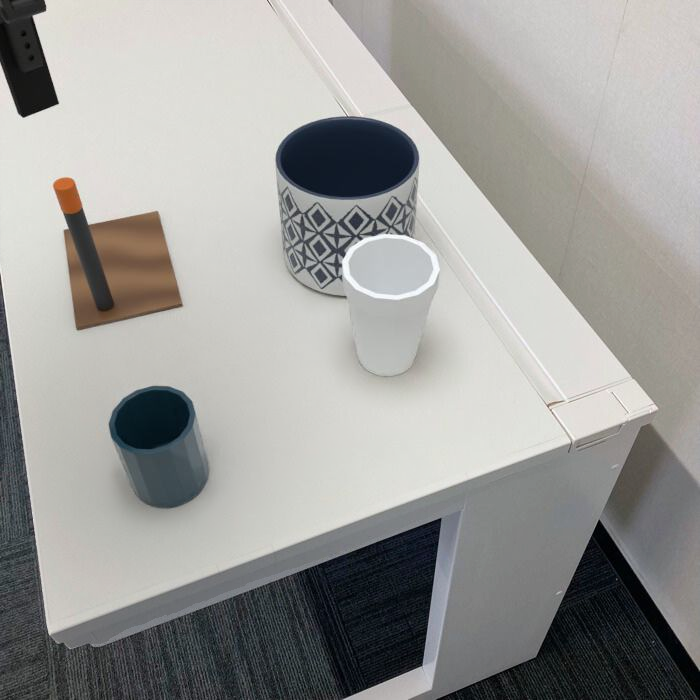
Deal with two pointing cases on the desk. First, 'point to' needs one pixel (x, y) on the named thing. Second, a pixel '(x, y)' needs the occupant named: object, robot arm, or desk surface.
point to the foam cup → (389, 299)
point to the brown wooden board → (125, 270)
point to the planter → (342, 193)
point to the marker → (83, 241)
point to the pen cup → (160, 445)
